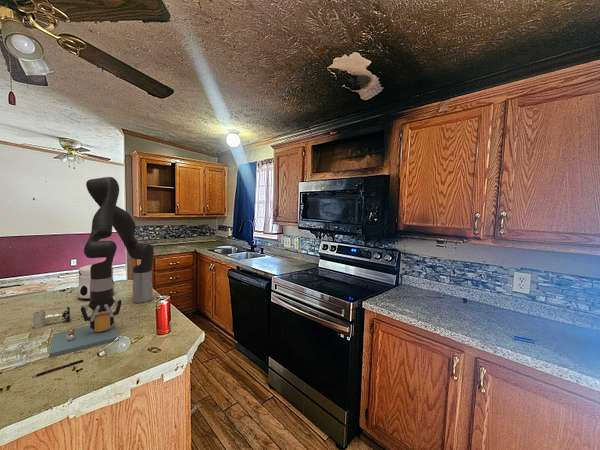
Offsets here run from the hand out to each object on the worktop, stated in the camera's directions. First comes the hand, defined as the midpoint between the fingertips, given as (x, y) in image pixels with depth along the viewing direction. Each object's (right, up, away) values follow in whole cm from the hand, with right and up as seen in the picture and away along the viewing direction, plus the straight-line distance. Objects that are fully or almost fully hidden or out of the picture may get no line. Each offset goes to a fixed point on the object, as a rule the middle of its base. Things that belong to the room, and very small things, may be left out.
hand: (102, 326), depth 107 cm
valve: (-29, -2, +7) cm, 29 cm away
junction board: (-3, -3, -4) cm, 6 cm away
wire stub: (-6, -2, -8) cm, 10 cm away
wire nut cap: (0, -1, 0) cm, 1 cm away
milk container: (-37, +1, +42) cm, 56 cm away
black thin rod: (+4, -5, -23) cm, 24 cm away
